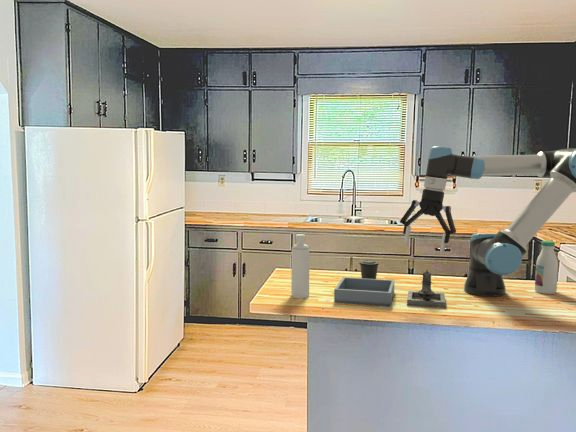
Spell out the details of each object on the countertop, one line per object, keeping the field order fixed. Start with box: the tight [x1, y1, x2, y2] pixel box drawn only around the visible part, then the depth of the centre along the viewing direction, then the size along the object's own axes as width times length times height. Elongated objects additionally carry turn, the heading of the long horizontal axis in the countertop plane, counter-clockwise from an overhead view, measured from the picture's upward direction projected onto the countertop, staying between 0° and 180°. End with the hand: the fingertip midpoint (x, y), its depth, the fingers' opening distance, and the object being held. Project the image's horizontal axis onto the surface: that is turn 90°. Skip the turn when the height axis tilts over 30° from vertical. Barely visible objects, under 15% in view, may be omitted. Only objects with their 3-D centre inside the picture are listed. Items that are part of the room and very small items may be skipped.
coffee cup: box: [358, 259, 380, 279], centre depth 219 cm, size 8×8×10 cm
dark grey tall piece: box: [417, 269, 436, 300], centre depth 193 cm, size 6×6×12 cm
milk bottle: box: [534, 240, 559, 295], centre depth 207 cm, size 8×8×20 cm
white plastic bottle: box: [291, 233, 310, 299], centre depth 200 cm, size 7×7×25 cm
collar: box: [406, 290, 446, 309], centre depth 194 cm, size 13×13×2 cm
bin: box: [333, 276, 395, 308], centre depth 199 cm, size 20×20×5 cm
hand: (423, 247), depth 194 cm, fingers open, 13 cm apart
